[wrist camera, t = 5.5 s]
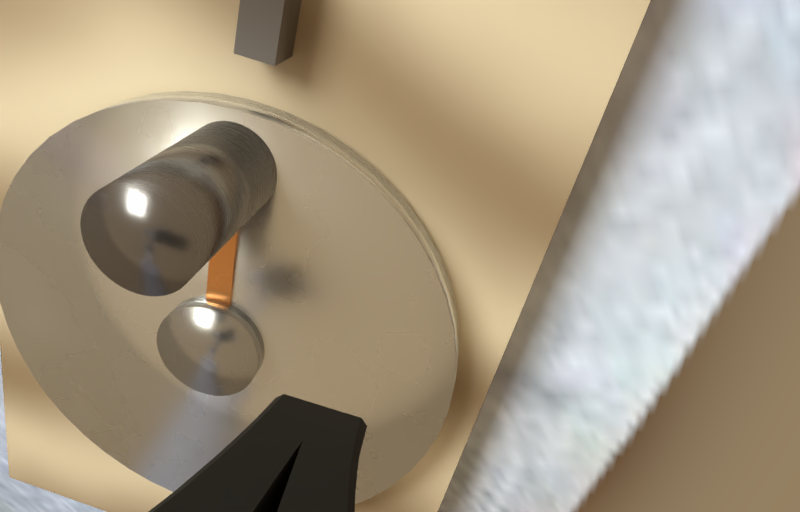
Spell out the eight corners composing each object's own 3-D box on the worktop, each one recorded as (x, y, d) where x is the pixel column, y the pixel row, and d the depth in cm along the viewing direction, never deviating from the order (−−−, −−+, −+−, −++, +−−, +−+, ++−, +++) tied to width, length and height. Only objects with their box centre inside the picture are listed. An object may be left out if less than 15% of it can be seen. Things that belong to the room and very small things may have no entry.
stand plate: (402, 579, 26) (388, 644, 24) (35, 450, 27) (-14, 500, 25) (666, -67, 15) (689, -64, 12) (7, -257, 16) (-89, -288, 13)
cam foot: (402, 541, 23) (366, 700, 18) (32, 422, 24) (-91, 543, 19) (523, 174, 16) (513, 279, 11) (-1, 30, 17) (-206, 72, 12)
